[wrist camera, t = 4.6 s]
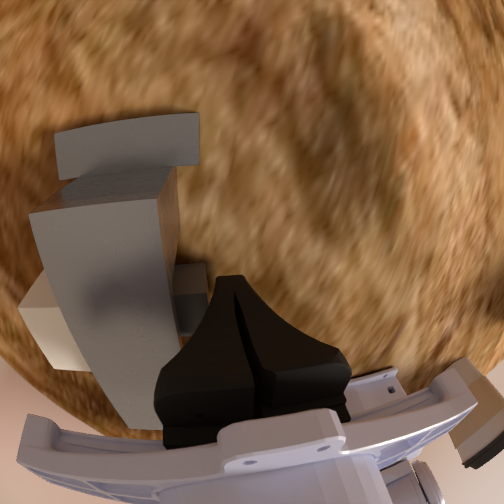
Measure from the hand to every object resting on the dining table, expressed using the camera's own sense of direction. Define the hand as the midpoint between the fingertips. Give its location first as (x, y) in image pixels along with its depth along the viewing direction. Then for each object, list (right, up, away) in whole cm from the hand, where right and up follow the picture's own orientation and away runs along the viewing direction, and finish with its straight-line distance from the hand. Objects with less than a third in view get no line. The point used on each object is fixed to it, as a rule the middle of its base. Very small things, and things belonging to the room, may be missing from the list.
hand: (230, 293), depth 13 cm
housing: (-4, 0, 0) cm, 4 cm away
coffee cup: (+27, -14, +15) cm, 34 cm away
